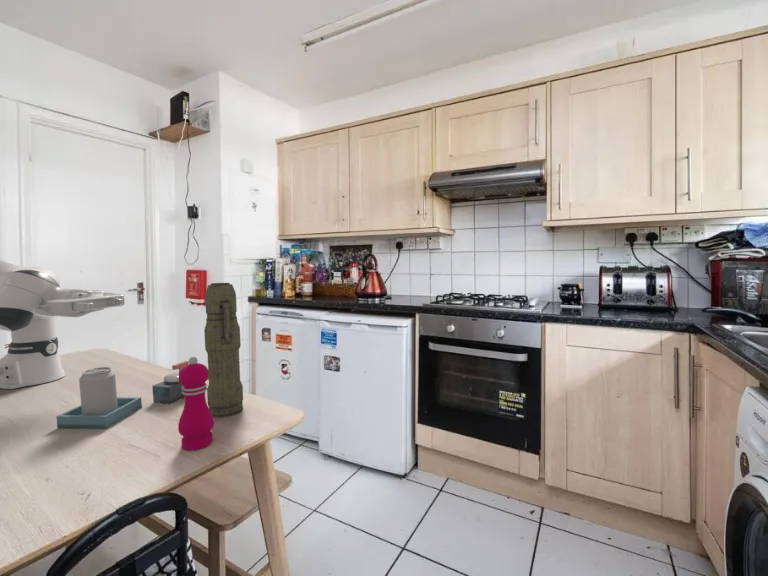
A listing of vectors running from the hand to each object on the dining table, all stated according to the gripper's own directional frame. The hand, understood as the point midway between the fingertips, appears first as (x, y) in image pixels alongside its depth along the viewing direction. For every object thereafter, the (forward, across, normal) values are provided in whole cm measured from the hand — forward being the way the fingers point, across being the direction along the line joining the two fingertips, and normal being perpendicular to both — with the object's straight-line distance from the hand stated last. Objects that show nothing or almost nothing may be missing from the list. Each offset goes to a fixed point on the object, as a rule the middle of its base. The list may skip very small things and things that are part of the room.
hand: (107, 304), depth 112 cm
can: (+14, -14, +27) cm, 34 cm away
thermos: (+43, -2, +28) cm, 51 cm away
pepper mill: (+49, -19, +28) cm, 60 cm away
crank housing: (+21, +4, +28) cm, 35 cm away
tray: (+14, -14, +28) cm, 34 cm away
